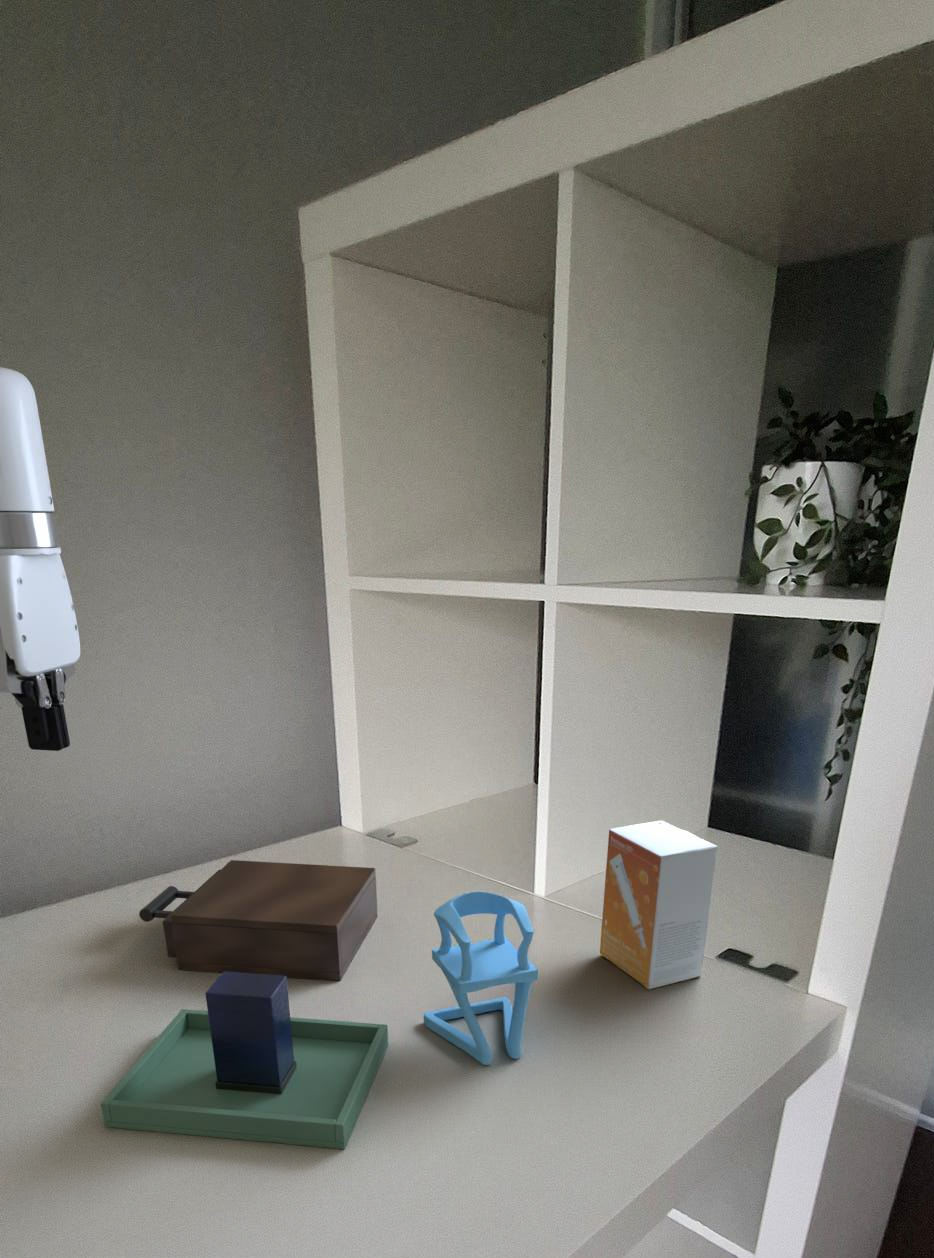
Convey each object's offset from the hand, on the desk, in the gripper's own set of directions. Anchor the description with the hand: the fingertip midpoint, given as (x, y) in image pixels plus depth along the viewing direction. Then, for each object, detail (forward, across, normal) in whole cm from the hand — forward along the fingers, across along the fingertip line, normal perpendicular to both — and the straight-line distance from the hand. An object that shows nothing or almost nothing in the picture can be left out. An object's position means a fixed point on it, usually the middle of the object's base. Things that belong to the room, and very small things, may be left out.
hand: (50, 747), depth 85 cm
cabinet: (+19, 0, +21) cm, 28 cm away
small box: (+18, 0, +57) cm, 60 cm away
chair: (+19, +15, +43) cm, 49 cm away
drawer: (+18, 0, +17) cm, 25 cm away
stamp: (+18, +24, +27) cm, 41 cm away
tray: (+19, +24, +27) cm, 41 cm away
